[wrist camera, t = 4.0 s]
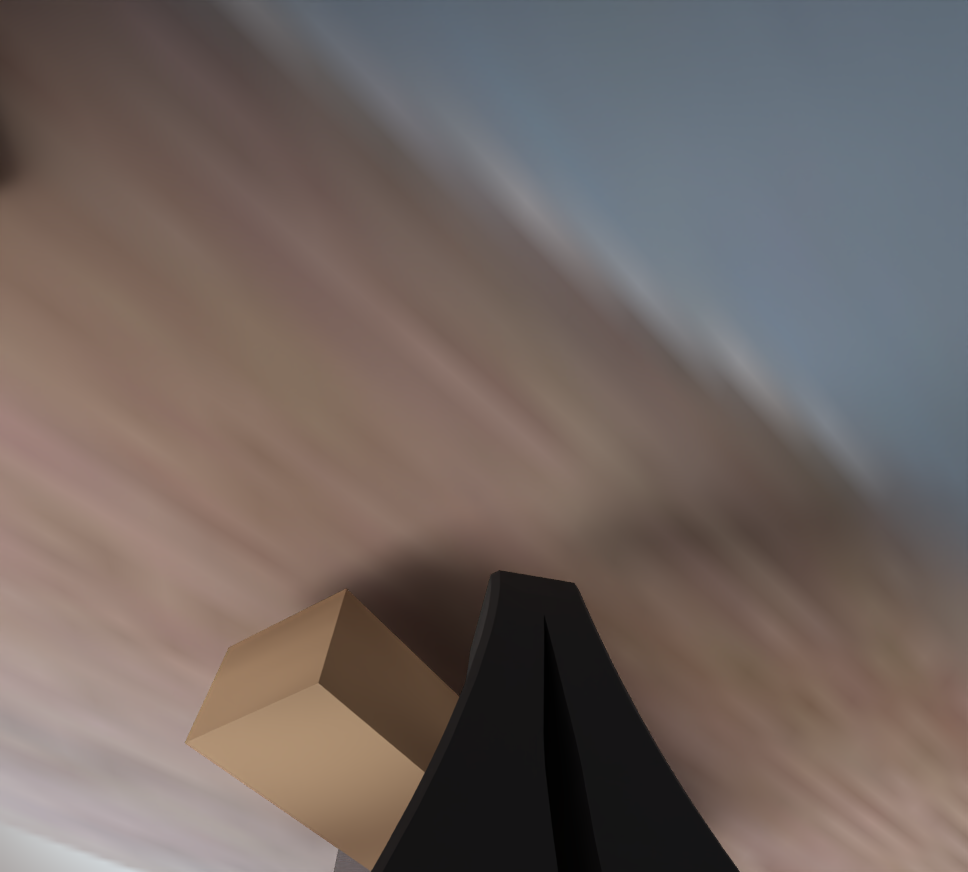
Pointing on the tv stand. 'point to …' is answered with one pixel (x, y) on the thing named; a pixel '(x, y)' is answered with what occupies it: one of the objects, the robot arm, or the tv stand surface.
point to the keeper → (348, 864)
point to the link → (327, 722)
